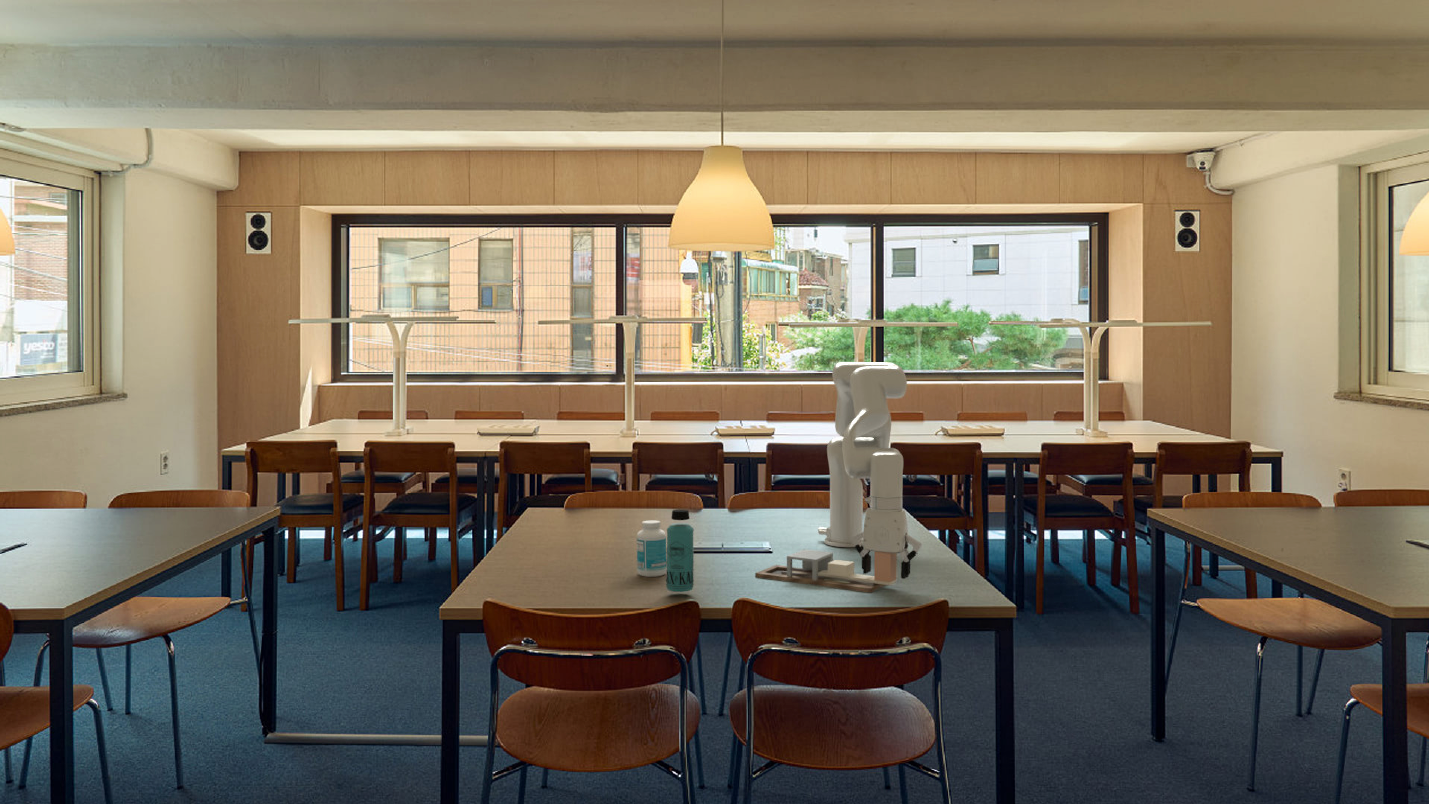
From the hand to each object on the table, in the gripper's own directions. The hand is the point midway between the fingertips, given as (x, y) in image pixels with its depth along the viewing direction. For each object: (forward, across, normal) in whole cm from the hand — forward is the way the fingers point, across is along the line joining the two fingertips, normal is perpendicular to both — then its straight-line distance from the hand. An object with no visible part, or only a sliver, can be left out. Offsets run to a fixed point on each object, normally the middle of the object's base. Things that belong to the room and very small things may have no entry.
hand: (885, 575), depth 234 cm
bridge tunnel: (+2, -20, 0) cm, 20 cm away
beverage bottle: (+3, -38, -30) cm, 49 cm away
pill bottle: (+3, -56, -16) cm, 59 cm away
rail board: (+3, -17, 0) cm, 17 cm away
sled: (+2, -8, 0) cm, 8 cm away
